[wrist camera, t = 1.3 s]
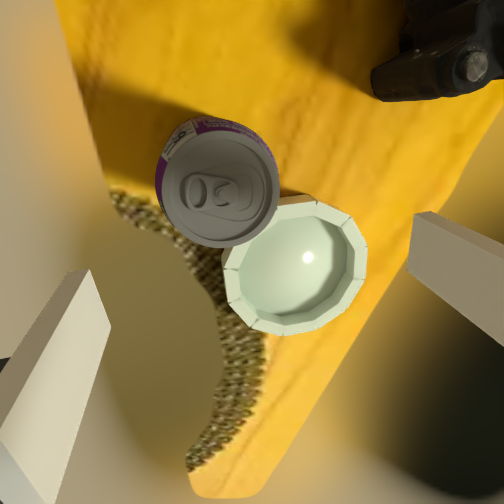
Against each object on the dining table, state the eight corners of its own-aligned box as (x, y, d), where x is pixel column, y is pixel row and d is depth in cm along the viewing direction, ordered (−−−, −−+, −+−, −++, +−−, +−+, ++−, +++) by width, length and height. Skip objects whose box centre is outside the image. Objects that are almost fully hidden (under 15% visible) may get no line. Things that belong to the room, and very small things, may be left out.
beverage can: (166, 201, 28) (155, 257, 17) (162, 112, 25) (147, 114, 15) (246, 202, 30) (281, 255, 19) (251, 118, 27) (296, 124, 16)
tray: (213, 206, 29) (216, 214, 27) (358, 187, 31) (371, 193, 29) (230, 330, 35) (233, 346, 33) (351, 308, 37) (362, 321, 35)
